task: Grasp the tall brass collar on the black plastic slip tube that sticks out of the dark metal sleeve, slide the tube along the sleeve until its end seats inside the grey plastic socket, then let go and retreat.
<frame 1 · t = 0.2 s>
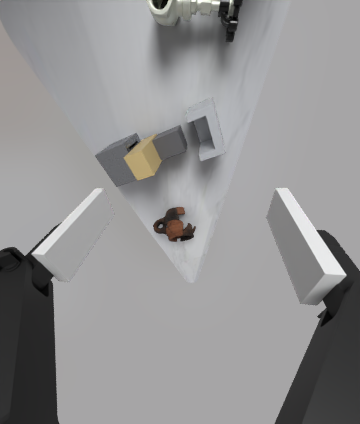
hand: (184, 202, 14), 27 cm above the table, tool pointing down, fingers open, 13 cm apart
sleeve: (132, 154, 40), on the table
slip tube: (140, 158, 33), point 7 cm above the table, slide at 0.0 cm
rusty metal ring bracket: (176, 218, 52), on the table
valve: (195, 11, 25), on the table
socket: (206, 123, 34), on the table
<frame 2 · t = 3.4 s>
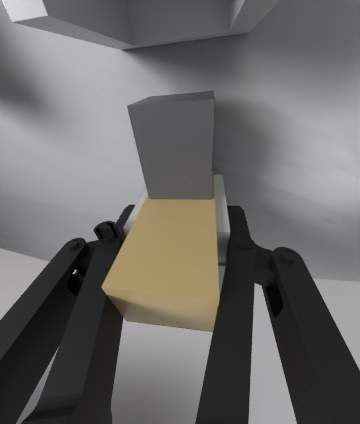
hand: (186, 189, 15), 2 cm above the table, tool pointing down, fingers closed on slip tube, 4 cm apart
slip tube: (181, 244, 12), point 7 cm above the table, slide at 0.0 cm, touching gripper
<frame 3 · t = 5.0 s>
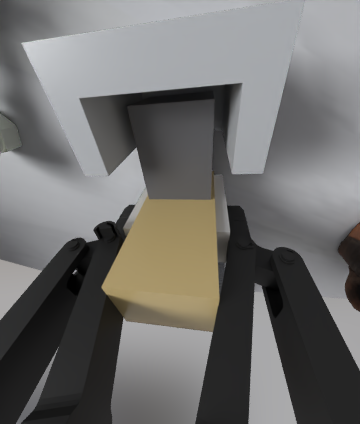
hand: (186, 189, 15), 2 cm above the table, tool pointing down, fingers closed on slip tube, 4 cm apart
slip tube: (181, 244, 12), point 7 cm above the table, slide at 4.9 cm, touching gripper
socket: (183, 94, 12), on the table
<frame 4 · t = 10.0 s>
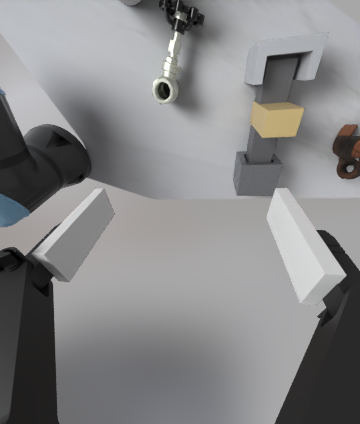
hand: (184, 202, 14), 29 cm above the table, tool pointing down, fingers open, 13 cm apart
sleeve: (251, 166, 40), on the table
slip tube: (269, 126, 28), point 7 cm above the table, slide at 5.0 cm
rusty metal ring bracket: (355, 143, 34), on the table
valve: (175, 62, 30), on the table
socket: (270, 63, 29), on the table
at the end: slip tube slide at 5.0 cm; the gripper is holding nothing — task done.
